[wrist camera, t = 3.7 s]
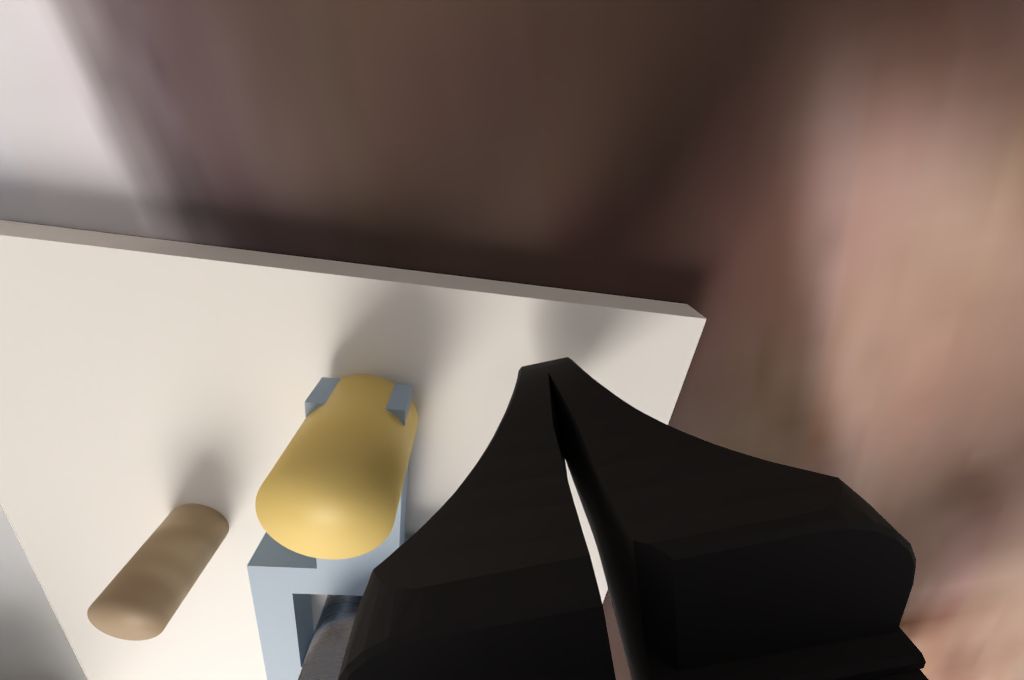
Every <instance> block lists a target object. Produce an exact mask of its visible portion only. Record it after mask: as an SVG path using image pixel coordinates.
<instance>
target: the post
mask: <svg viewBox="0 0 1024 680" xmlns="http://www.w3.org/2000/svg"><path fill="white" fill-rule="evenodd" d="M361 599H362V596H354V595H327V598H326V601H325V604H324V607H323V610H322V612H321V615H320V618H319V621H318V624H317V627H316V630H315V632H314V635H313V638H312V641H311V644H310V647H309V649H308V652H307V655H306V658H305V661H304V664H303V667H302V669H301V672H300V675H299V678H298V680H338V677H339V673H340V669H341V666H342V662H343V659H344V655H345V651H346V648H347V644H348V640H349V637H350V633H351V630H352V626H353V622H354V619H355V616H356V613H357V610H358V607H359V604H360V602H361Z"/></svg>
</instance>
